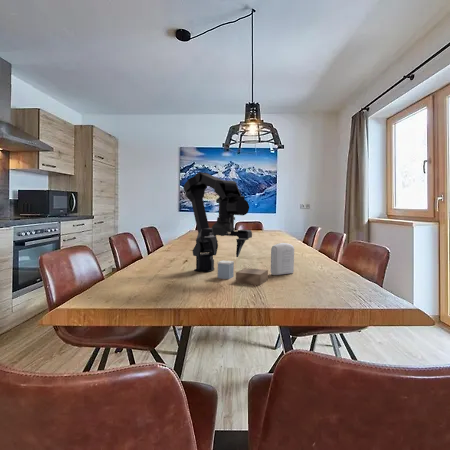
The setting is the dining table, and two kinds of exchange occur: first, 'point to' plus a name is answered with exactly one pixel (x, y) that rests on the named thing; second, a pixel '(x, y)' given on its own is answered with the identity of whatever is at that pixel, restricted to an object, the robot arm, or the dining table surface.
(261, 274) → the walnut block
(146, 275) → the dining table surface
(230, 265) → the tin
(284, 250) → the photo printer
